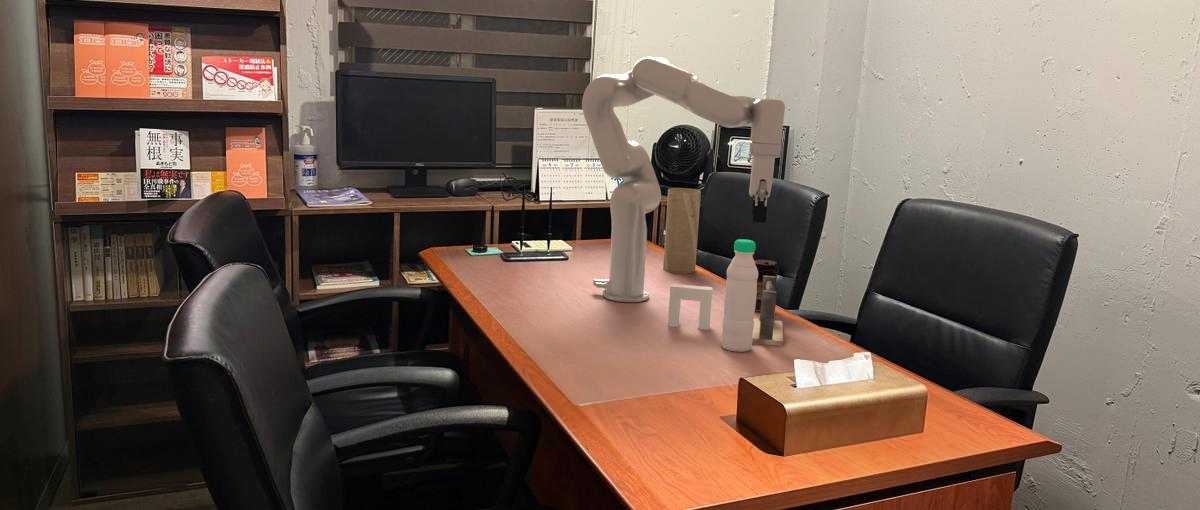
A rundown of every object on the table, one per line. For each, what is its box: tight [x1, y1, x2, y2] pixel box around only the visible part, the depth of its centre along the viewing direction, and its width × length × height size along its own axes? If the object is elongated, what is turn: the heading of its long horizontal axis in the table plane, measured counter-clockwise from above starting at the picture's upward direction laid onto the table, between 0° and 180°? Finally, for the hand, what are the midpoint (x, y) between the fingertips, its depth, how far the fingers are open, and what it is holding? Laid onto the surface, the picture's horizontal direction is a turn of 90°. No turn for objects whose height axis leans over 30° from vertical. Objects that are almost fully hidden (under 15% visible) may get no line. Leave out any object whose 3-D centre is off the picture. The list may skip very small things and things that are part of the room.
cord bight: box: [667, 283, 713, 331], centre depth 213 cm, size 10×3×10 cm, turn 80°
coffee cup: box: [754, 259, 780, 312], centre depth 231 cm, size 9×8×13 cm
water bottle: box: [720, 238, 758, 353], centre depth 197 cm, size 7×7×25 cm
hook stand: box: [752, 275, 784, 347], centre depth 210 cm, size 8×17×12 cm, turn 170°
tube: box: [662, 187, 702, 275], centre depth 271 cm, size 10×10×25 cm
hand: (758, 218), depth 218 cm, fingers open, 9 cm apart
